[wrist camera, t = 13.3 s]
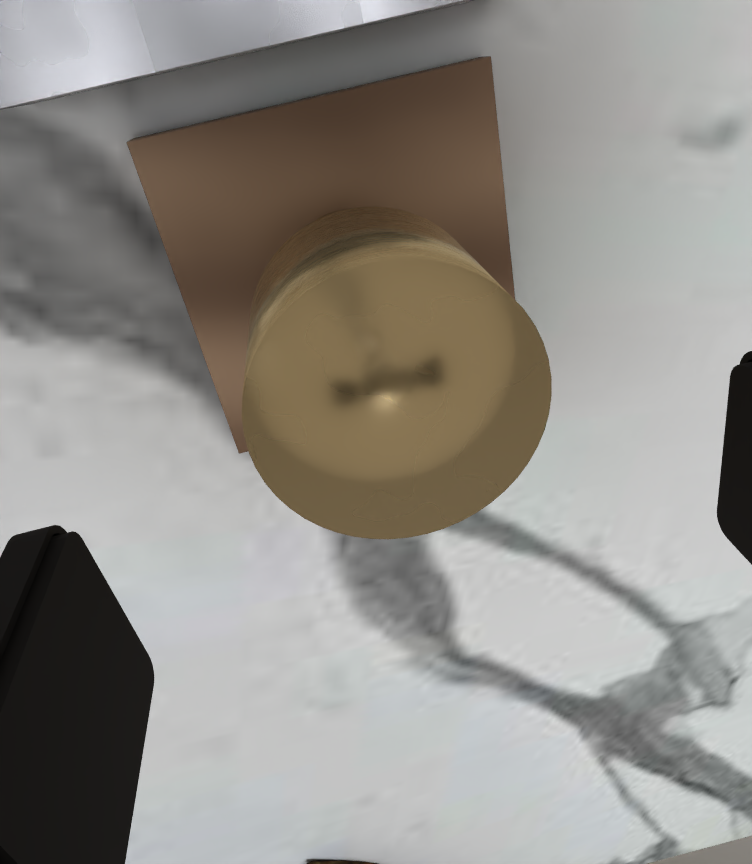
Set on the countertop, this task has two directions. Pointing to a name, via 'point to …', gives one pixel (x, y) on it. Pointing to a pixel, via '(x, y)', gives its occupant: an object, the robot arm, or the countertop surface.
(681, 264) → the countertop surface
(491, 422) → the end cover
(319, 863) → the hand tool
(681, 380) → the countertop surface
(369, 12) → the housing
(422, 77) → the board
